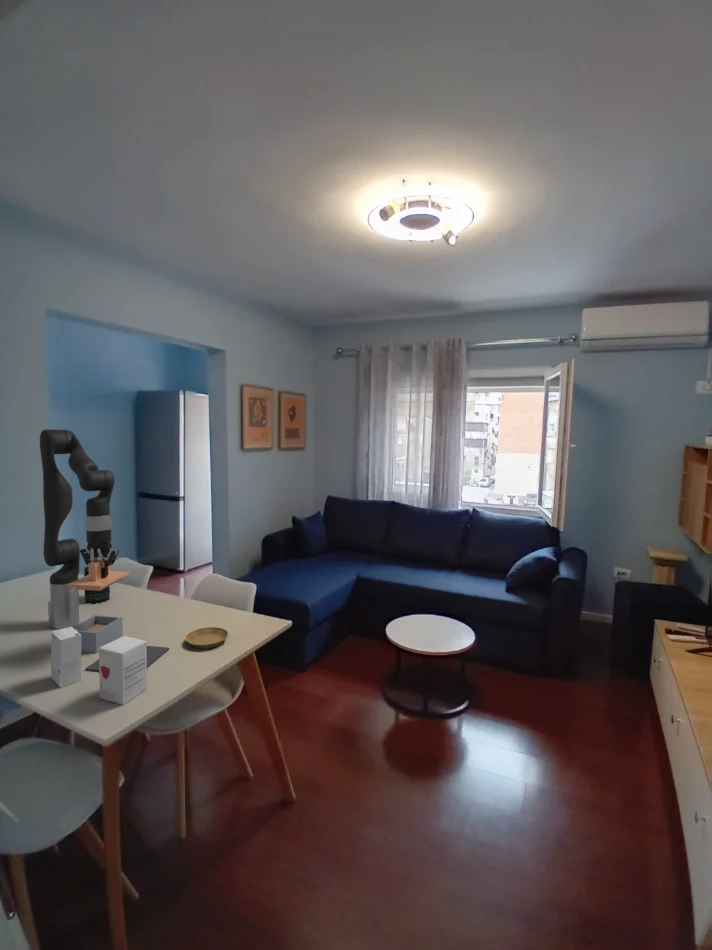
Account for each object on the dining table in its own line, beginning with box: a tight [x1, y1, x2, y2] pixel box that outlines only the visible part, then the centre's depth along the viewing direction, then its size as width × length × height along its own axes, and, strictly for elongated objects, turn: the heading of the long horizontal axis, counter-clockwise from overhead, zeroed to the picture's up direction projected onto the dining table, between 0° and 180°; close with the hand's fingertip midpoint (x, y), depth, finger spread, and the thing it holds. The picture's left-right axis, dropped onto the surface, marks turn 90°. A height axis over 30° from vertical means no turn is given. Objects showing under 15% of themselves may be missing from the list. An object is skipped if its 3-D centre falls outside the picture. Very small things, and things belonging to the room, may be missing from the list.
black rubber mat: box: [85, 645, 170, 672], centre depth 152 cm, size 18×18×1 cm
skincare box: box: [50, 626, 82, 688], centre depth 139 cm, size 8×6×15 cm
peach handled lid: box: [68, 560, 130, 591], centre depth 159 cm, size 15×12×8 cm
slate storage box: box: [73, 614, 124, 654], centre depth 164 cm, size 14×11×7 cm
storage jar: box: [83, 566, 111, 605], centre depth 205 cm, size 10×10×15 cm
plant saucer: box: [184, 626, 229, 650], centre depth 167 cm, size 15×15×3 cm
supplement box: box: [98, 635, 148, 706], centre depth 132 cm, size 9×9×15 cm
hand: (100, 577), depth 160 cm, fingers closed on peach handled lid, 2 cm apart
